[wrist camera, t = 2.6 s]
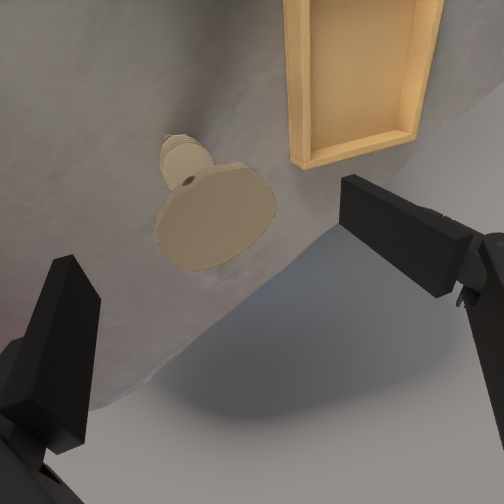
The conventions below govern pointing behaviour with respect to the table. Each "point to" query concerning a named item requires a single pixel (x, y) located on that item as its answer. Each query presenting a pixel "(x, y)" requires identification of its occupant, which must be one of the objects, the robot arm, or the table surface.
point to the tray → (356, 74)
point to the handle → (209, 206)
